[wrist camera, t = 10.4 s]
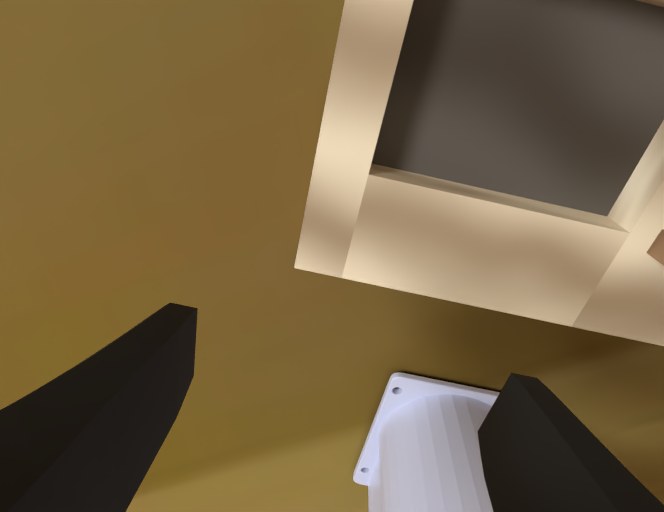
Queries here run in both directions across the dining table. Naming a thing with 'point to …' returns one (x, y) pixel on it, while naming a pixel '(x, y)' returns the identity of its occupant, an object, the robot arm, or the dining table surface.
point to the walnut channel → (657, 248)
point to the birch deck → (497, 158)
